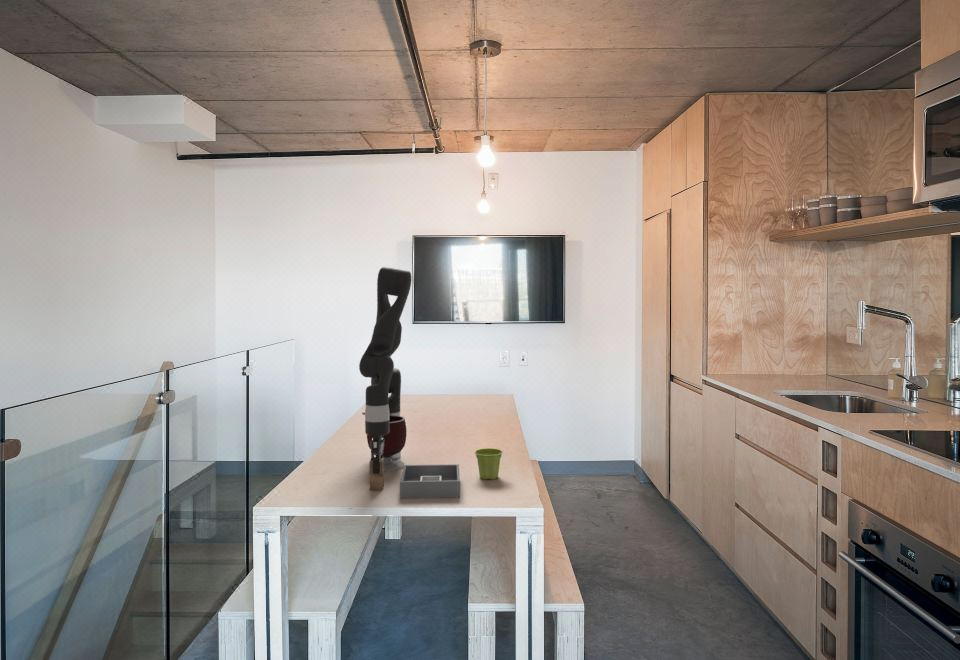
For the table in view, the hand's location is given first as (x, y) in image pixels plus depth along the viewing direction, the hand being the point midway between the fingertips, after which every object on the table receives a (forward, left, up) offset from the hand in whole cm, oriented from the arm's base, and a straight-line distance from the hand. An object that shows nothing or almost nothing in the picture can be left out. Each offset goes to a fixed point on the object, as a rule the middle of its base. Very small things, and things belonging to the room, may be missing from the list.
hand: (377, 469), depth 194 cm
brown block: (0, 0, -6) cm, 6 cm away
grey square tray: (+1, +17, -6) cm, 18 cm away
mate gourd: (-24, 0, -6) cm, 25 cm away
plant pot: (-10, +36, -6) cm, 38 cm away
